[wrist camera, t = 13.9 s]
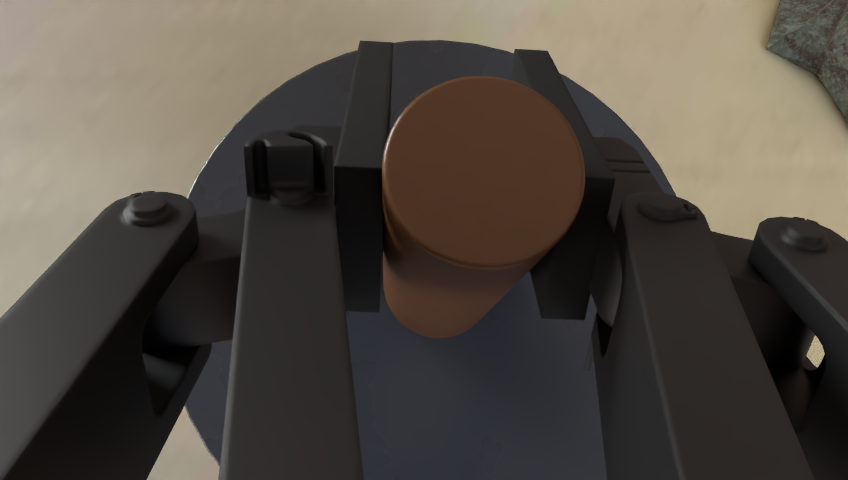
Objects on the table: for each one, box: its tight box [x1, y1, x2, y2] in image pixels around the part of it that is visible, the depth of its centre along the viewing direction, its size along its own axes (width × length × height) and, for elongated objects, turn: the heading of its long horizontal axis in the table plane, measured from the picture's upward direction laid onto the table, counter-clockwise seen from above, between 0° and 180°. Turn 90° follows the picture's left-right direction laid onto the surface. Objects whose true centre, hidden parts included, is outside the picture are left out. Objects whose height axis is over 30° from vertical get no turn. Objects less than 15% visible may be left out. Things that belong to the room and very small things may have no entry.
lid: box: [185, 40, 676, 480], centre depth 15 cm, size 14×14×10 cm
